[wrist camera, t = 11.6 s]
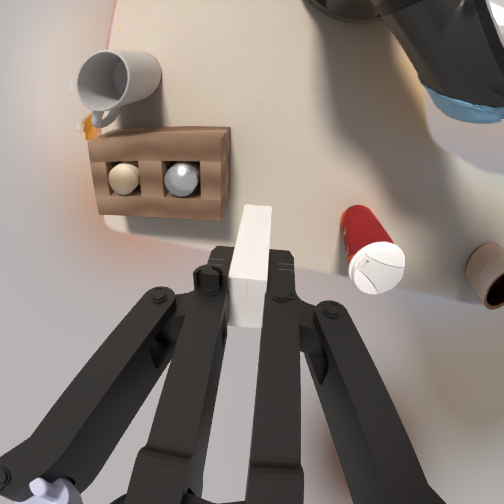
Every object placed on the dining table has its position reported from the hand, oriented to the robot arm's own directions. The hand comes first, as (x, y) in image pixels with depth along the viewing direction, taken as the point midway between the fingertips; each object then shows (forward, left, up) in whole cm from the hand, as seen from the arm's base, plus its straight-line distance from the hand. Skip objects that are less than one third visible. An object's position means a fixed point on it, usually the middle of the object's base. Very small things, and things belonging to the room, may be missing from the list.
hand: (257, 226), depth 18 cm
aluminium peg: (+6, -12, -30) cm, 33 cm away
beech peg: (+6, -20, -30) cm, 37 cm away
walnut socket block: (+6, -16, -30) cm, 35 cm away
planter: (+20, +49, -31) cm, 61 cm away
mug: (-7, -22, -31) cm, 38 cm away
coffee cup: (+14, +16, -31) cm, 37 cm away
